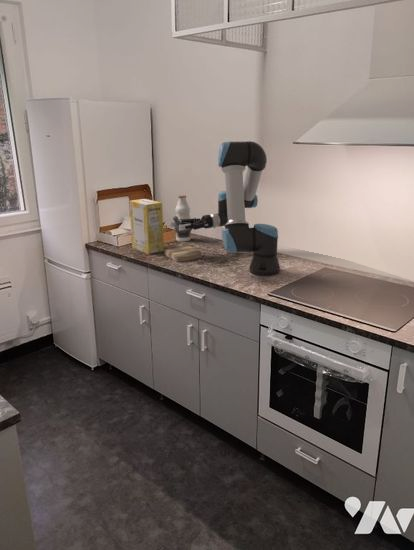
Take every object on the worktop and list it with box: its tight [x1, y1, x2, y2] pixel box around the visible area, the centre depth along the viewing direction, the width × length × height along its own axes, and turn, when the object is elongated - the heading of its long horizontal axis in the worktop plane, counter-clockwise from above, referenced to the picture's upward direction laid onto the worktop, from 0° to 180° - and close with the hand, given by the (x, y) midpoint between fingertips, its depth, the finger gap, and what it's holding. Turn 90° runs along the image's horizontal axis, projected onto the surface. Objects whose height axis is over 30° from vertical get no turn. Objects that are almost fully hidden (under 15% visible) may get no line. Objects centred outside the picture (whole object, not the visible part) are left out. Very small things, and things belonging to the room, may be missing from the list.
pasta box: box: [128, 198, 165, 255], centre depth 264 cm, size 18×10×28 cm, turn 39°
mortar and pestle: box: [172, 215, 193, 238], centre depth 248 cm, size 11×9×12 cm
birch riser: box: [164, 245, 202, 263], centre depth 252 cm, size 15×15×4 cm
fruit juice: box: [174, 194, 192, 242], centre depth 284 cm, size 9×9×28 cm
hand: (174, 226), depth 246 cm, fingers closed on mortar and pestle, 10 cm apart
